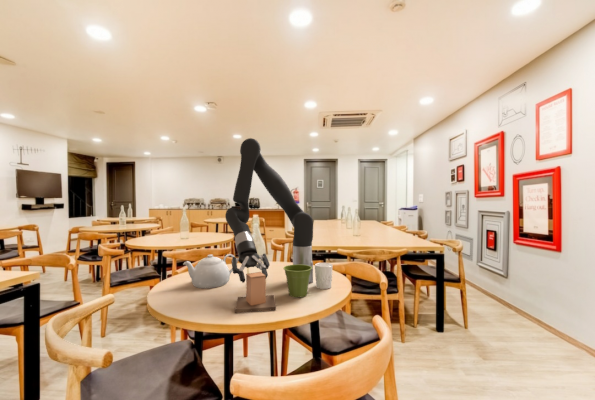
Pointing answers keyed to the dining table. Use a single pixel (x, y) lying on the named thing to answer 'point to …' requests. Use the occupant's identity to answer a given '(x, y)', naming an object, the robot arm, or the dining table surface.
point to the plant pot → (297, 279)
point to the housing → (255, 288)
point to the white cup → (323, 275)
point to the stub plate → (246, 307)
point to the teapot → (209, 272)
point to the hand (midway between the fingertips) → (255, 279)
